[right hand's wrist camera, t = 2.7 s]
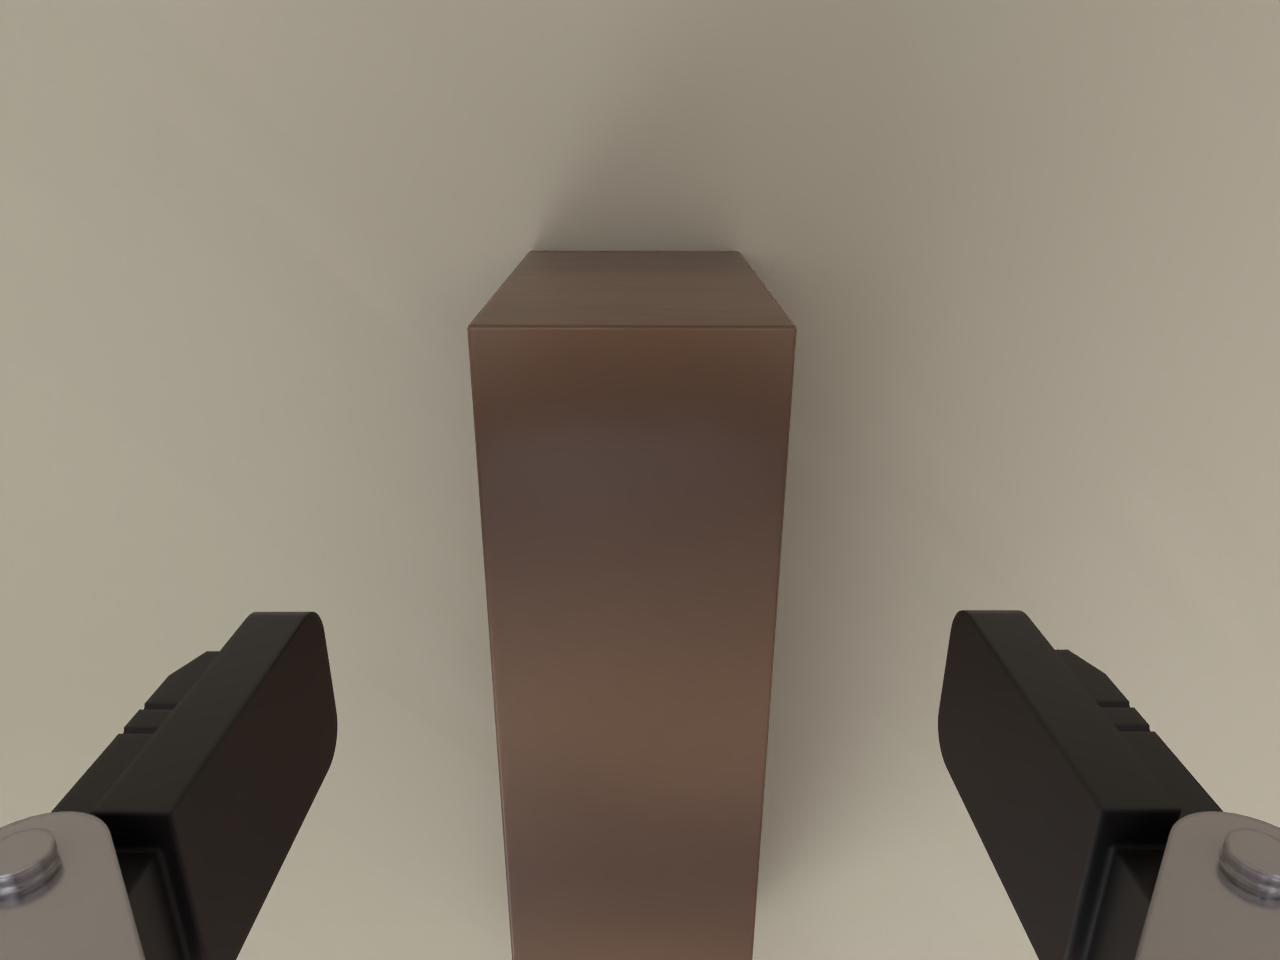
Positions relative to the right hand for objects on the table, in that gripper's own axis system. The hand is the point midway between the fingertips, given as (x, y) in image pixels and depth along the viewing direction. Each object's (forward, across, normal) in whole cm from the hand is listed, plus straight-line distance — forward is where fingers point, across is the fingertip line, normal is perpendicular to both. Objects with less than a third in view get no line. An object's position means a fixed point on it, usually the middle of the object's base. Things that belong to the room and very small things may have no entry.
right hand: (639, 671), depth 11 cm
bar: (+13, 0, -8) cm, 15 cm away
